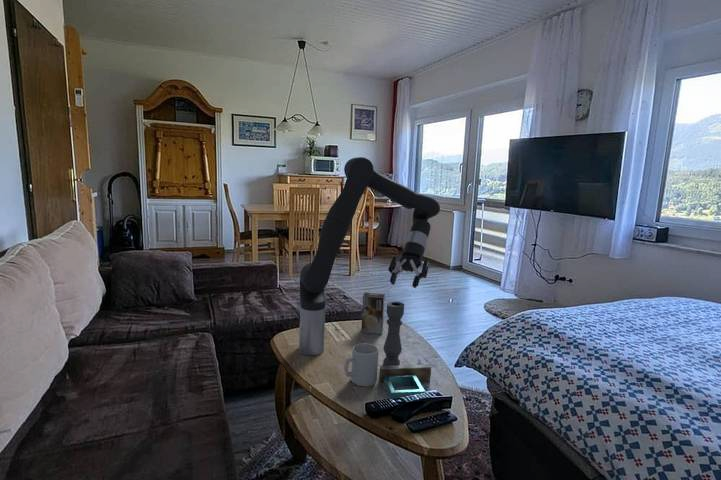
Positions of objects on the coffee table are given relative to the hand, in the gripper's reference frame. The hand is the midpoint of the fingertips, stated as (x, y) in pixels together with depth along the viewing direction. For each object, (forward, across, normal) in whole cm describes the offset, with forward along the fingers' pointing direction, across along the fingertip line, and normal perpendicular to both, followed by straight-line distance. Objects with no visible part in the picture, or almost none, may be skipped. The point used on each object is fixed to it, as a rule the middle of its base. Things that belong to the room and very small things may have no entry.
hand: (402, 285), depth 143 cm
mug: (+35, -5, +1) cm, 36 cm away
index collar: (+35, +10, +3) cm, 36 cm away
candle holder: (+29, +1, +10) cm, 31 cm away
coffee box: (+10, -24, +32) cm, 41 cm away
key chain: (+24, +6, +17) cm, 30 cm away
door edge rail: (+30, +7, +9) cm, 32 cm away
